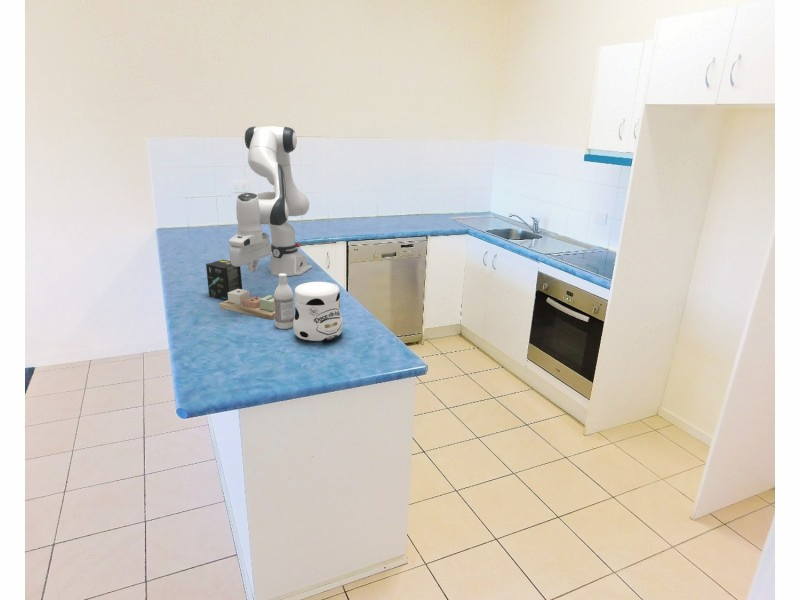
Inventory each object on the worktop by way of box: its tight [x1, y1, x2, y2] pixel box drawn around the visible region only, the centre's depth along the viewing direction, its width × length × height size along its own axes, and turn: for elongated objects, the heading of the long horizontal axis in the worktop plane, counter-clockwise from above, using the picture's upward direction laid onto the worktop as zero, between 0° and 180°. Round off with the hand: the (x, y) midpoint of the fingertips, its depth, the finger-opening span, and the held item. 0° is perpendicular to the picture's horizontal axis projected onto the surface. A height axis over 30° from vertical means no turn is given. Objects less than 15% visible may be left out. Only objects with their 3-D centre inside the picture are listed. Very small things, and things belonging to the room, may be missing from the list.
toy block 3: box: [259, 294, 275, 312], centre depth 209 cm, size 6×6×4 cm
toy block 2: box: [243, 295, 262, 309], centre depth 213 cm, size 6×6×4 cm
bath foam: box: [273, 273, 295, 330], centre depth 195 cm, size 7×7×20 cm
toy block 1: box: [228, 288, 251, 305], centre depth 215 cm, size 6×6×4 cm
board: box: [218, 296, 275, 321], centre depth 213 cm, size 12×26×2 cm, turn 65°
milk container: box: [292, 281, 344, 343], centre depth 187 cm, size 17×17×18 cm
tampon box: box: [205, 259, 243, 302], centre depth 225 cm, size 11×9×15 cm
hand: (253, 271), depth 209 cm, fingers closed
